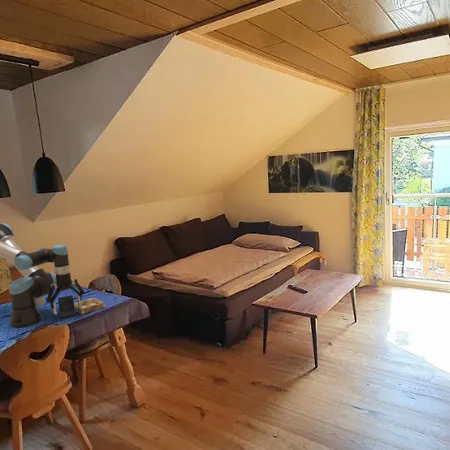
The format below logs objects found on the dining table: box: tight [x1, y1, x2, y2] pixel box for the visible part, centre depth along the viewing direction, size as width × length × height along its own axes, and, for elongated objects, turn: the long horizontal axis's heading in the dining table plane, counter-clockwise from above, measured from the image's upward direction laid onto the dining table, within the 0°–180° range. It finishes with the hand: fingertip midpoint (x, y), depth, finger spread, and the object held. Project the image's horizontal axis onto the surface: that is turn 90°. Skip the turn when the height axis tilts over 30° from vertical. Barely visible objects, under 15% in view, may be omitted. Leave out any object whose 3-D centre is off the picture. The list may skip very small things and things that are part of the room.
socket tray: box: [74, 297, 106, 315], centre depth 234 cm, size 14×14×3 cm
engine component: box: [36, 295, 47, 308], centre depth 245 cm, size 11×20×10 cm
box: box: [57, 294, 76, 319], centre depth 223 cm, size 8×6×11 cm
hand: (67, 310), depth 223 cm, fingers open, 13 cm apart
